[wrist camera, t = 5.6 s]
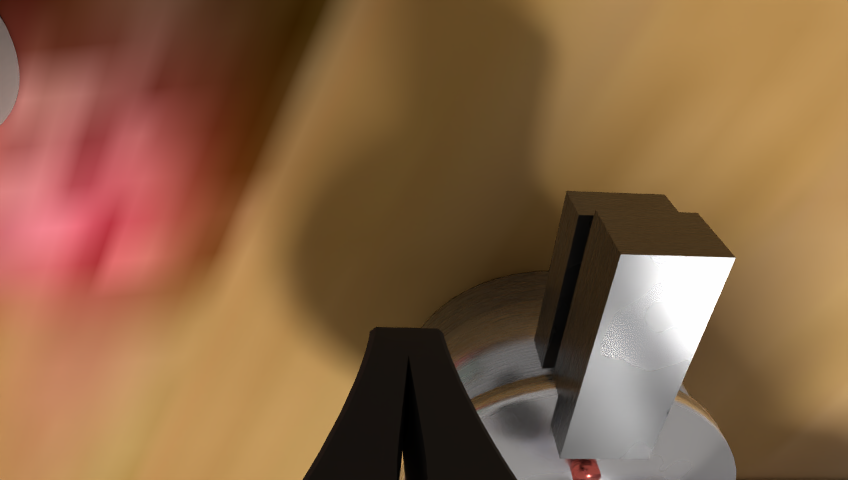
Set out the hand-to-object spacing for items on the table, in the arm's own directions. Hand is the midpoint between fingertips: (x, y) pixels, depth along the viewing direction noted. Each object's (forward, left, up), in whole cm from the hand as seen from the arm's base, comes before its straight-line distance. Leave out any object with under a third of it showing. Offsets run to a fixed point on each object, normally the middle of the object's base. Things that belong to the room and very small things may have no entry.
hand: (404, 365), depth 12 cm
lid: (-6, +6, -3) cm, 9 cm away
